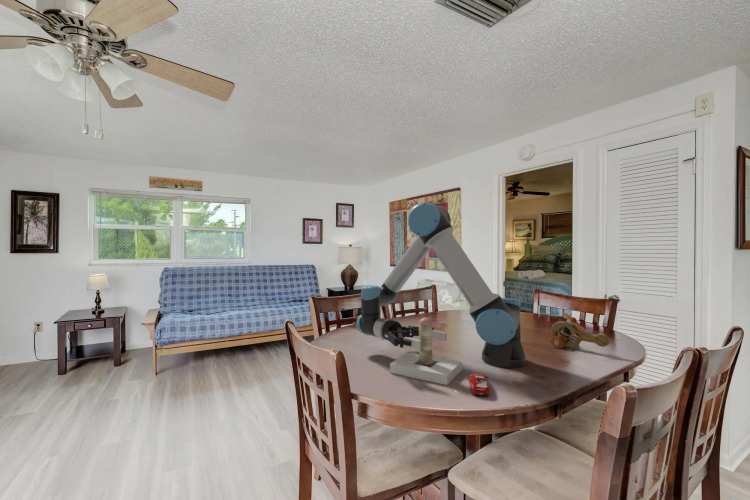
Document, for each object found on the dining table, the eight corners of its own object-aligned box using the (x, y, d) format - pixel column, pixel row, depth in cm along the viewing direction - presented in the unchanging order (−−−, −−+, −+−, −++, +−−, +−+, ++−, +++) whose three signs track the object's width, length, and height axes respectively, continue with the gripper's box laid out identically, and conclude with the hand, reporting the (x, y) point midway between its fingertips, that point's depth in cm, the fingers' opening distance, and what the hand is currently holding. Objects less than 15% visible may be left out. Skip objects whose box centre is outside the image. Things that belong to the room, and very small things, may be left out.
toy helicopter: (556, 342, 145) (556, 310, 145) (613, 354, 129) (613, 318, 129) (547, 346, 140) (547, 313, 140) (605, 359, 124) (605, 321, 124)
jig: (461, 370, 115) (461, 361, 115) (447, 385, 103) (447, 375, 103) (408, 360, 125) (408, 352, 125) (390, 372, 114) (390, 363, 114)
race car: (468, 379, 108) (468, 367, 108) (486, 381, 107) (486, 368, 107) (470, 397, 95) (470, 383, 95) (490, 399, 94) (490, 384, 94)
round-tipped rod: (434, 370, 115) (434, 317, 115) (429, 374, 111) (428, 319, 111) (422, 368, 117) (422, 315, 117) (417, 372, 113) (416, 318, 113)
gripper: (410, 333, 136) (455, 344, 120) (363, 346, 119) (408, 361, 103) (410, 314, 136) (455, 323, 120) (362, 325, 119) (408, 336, 103)
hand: (433, 341), depth 112 cm, fingers open, 13 cm apart
